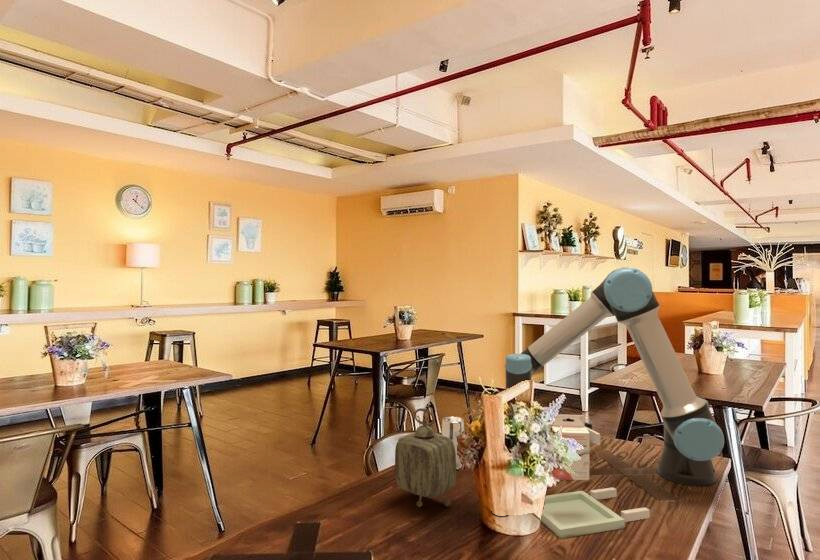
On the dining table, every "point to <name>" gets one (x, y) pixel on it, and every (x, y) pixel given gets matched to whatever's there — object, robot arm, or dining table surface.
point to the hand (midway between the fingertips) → (580, 441)
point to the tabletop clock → (425, 462)
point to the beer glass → (453, 432)
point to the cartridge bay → (626, 514)
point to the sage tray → (578, 515)
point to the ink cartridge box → (582, 437)
